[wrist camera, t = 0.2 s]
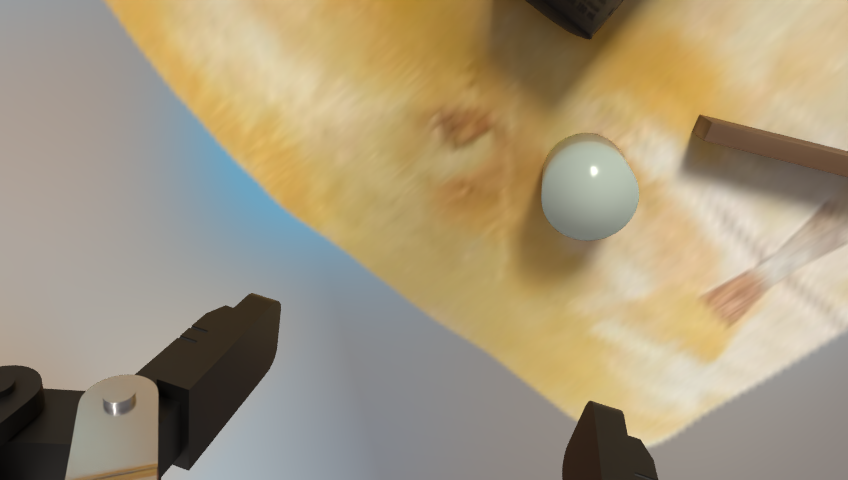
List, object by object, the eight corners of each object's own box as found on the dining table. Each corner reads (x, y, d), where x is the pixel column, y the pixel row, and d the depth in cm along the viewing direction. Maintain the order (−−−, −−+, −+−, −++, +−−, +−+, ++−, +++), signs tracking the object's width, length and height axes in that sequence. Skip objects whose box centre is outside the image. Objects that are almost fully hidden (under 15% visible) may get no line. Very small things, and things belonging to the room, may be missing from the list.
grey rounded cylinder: (556, 123, 37) (558, 141, 32) (638, 145, 37) (654, 166, 31) (532, 198, 40) (529, 226, 34) (608, 219, 39) (618, 251, 34)
